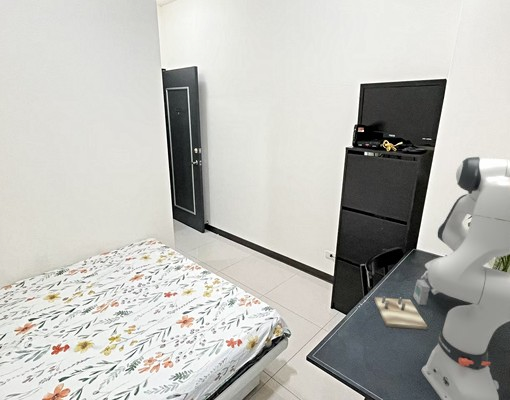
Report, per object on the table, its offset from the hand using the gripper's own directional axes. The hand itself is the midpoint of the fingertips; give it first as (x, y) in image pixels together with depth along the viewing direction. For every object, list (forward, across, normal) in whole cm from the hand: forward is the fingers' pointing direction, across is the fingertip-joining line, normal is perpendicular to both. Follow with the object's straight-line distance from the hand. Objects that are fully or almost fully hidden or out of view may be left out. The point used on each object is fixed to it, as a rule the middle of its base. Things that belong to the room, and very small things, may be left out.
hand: (426, 285), depth 125 cm
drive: (+7, 0, +4) cm, 8 cm away
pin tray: (+15, +10, -5) cm, 19 cm away
